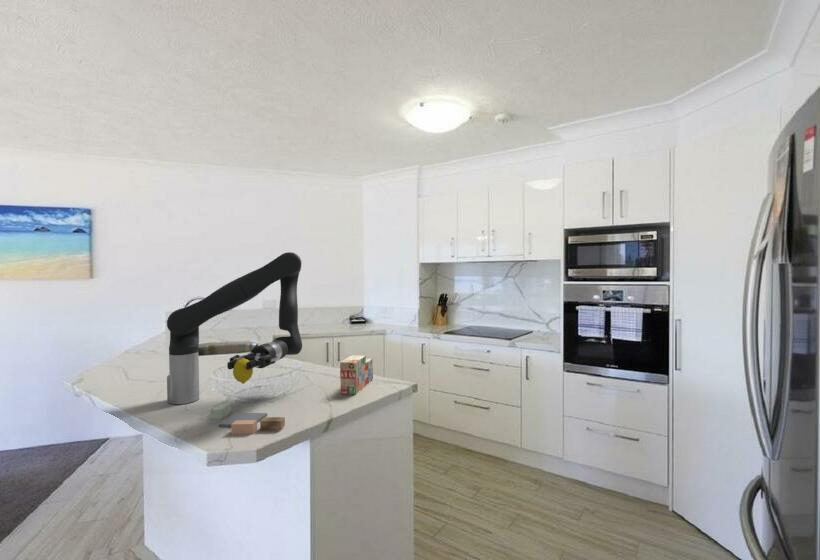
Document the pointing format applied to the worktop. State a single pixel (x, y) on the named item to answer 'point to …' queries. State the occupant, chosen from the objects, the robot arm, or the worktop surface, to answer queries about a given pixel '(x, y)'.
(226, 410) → the brick sage
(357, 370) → the stack of blocks
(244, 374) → the lemon
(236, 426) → the brick terracotta
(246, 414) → the coaster
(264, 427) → the brick walnut
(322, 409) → the worktop surface
